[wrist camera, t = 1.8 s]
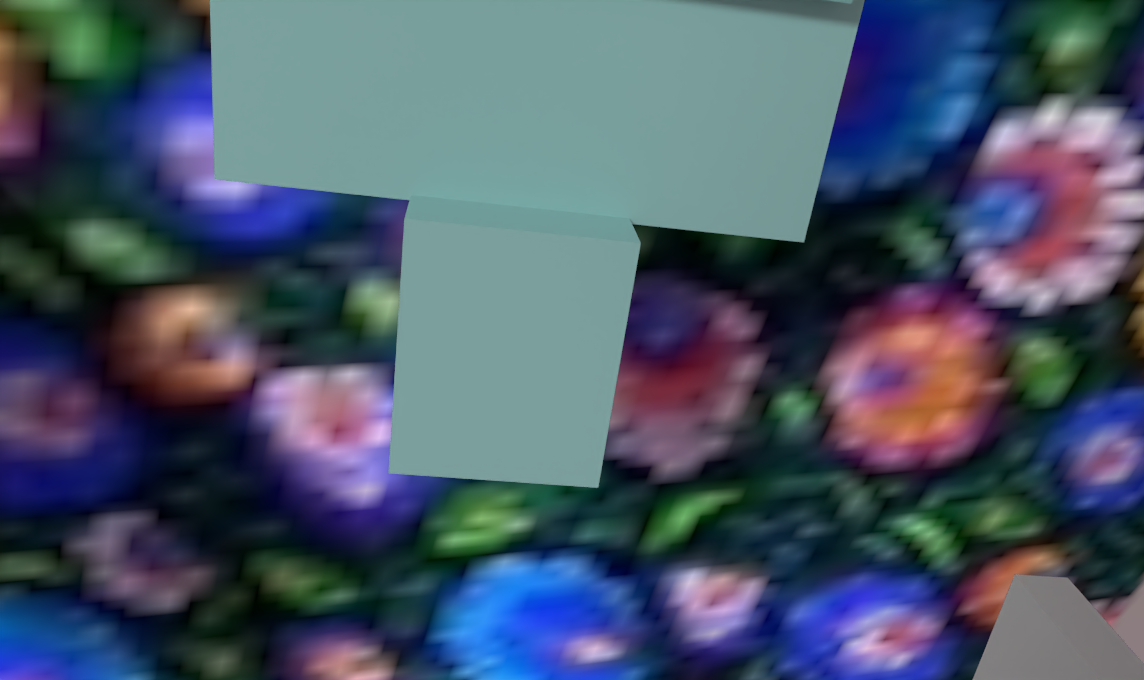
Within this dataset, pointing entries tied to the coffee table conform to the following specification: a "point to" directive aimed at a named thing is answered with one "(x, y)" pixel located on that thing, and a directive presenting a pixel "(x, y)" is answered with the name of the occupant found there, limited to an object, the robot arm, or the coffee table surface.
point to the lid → (530, 179)
